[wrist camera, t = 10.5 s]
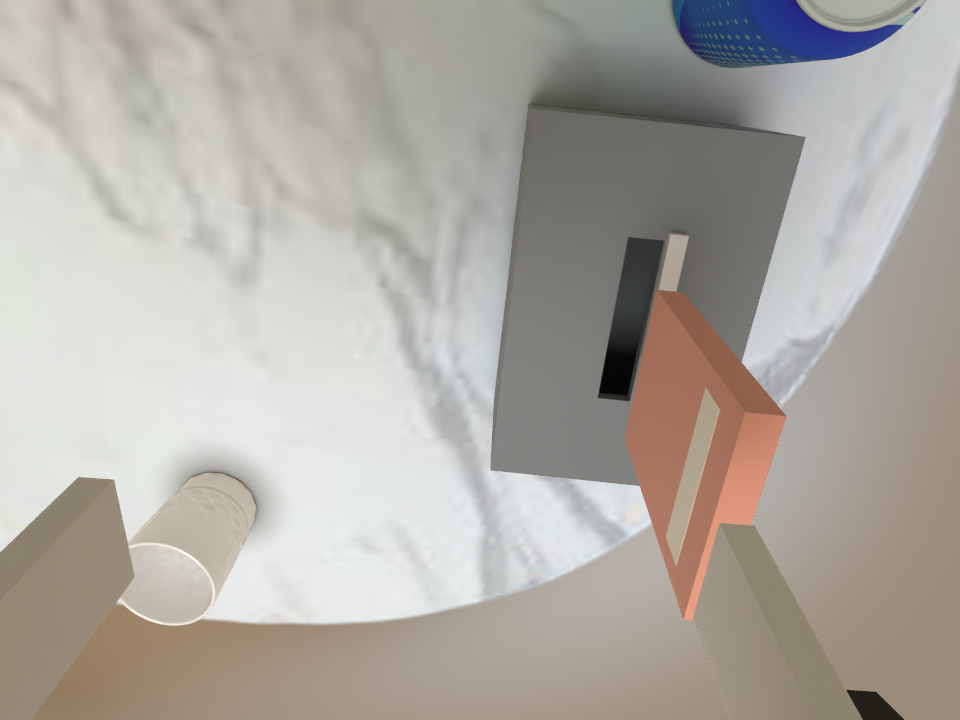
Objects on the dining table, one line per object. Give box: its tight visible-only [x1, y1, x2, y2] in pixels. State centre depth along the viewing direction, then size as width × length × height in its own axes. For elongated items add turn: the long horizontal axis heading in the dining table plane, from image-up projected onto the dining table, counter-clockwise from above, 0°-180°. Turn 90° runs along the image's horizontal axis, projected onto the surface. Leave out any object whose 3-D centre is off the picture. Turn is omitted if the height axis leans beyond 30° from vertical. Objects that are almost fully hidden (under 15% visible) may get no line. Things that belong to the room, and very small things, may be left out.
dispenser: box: [491, 104, 805, 486], centre depth 41 cm, size 22×14×11 cm, turn 175°
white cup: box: [119, 472, 257, 625], centre depth 51 cm, size 8×8×10 cm
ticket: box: [625, 290, 786, 620], centre depth 25 cm, size 8×1×12 cm, turn 175°
